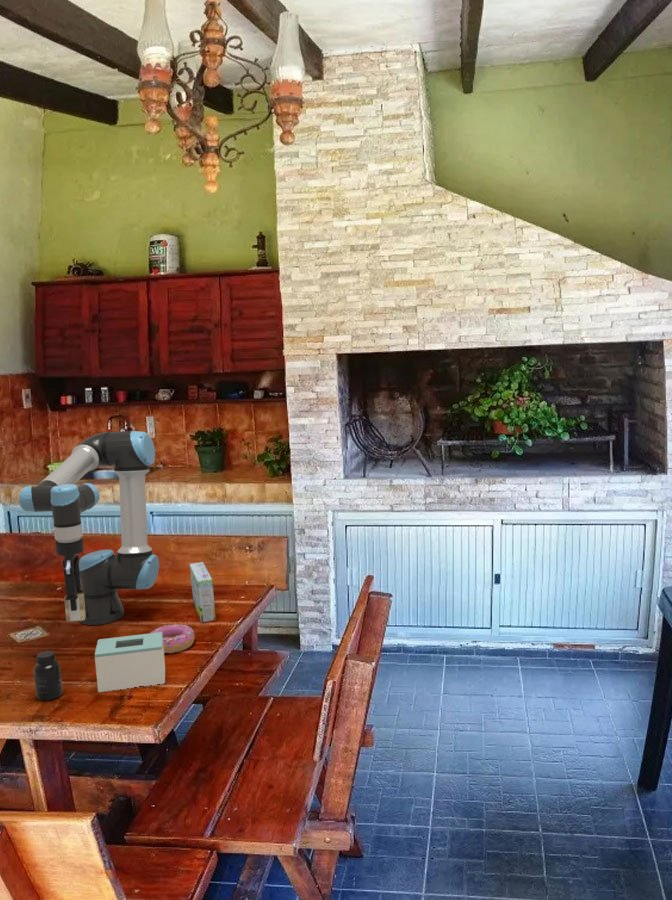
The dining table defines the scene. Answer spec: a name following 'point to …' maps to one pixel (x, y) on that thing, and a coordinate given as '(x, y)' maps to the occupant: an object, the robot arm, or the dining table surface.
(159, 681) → the box
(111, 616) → the robot arm
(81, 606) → the beige rectangular block
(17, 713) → the dining table surface
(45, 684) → the supplement bottle
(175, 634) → the donut
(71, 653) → the dining table surface
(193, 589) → the snack box
